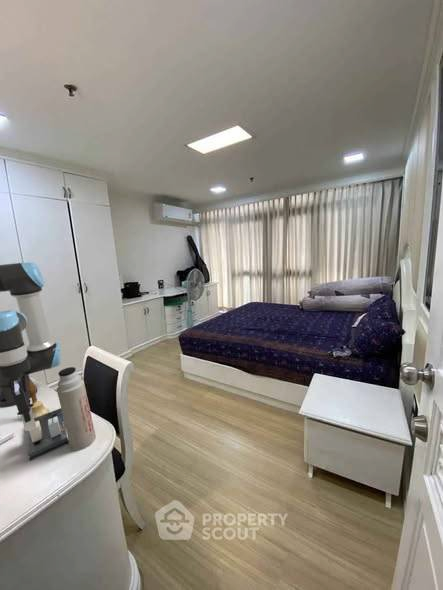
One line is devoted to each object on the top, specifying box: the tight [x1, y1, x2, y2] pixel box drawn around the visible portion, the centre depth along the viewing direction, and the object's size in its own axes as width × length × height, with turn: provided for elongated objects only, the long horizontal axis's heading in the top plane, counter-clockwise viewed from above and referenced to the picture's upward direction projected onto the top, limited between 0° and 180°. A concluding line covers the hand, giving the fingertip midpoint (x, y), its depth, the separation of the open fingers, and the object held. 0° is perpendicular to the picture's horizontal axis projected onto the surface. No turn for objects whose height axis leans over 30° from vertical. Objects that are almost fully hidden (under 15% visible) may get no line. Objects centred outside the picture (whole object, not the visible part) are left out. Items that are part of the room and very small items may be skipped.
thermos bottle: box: [56, 366, 96, 451], centre depth 85 cm, size 8×8×28 cm
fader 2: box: [48, 416, 61, 438], centre depth 89 cm, size 4×3×6 cm
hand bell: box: [28, 380, 51, 418], centre depth 103 cm, size 8×8×16 cm
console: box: [27, 407, 69, 461], centre depth 93 cm, size 22×11×3 cm, turn 36°
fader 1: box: [28, 421, 42, 443], centre depth 87 cm, size 4×3×6 cm
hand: (30, 428), depth 80 cm, fingers closed
